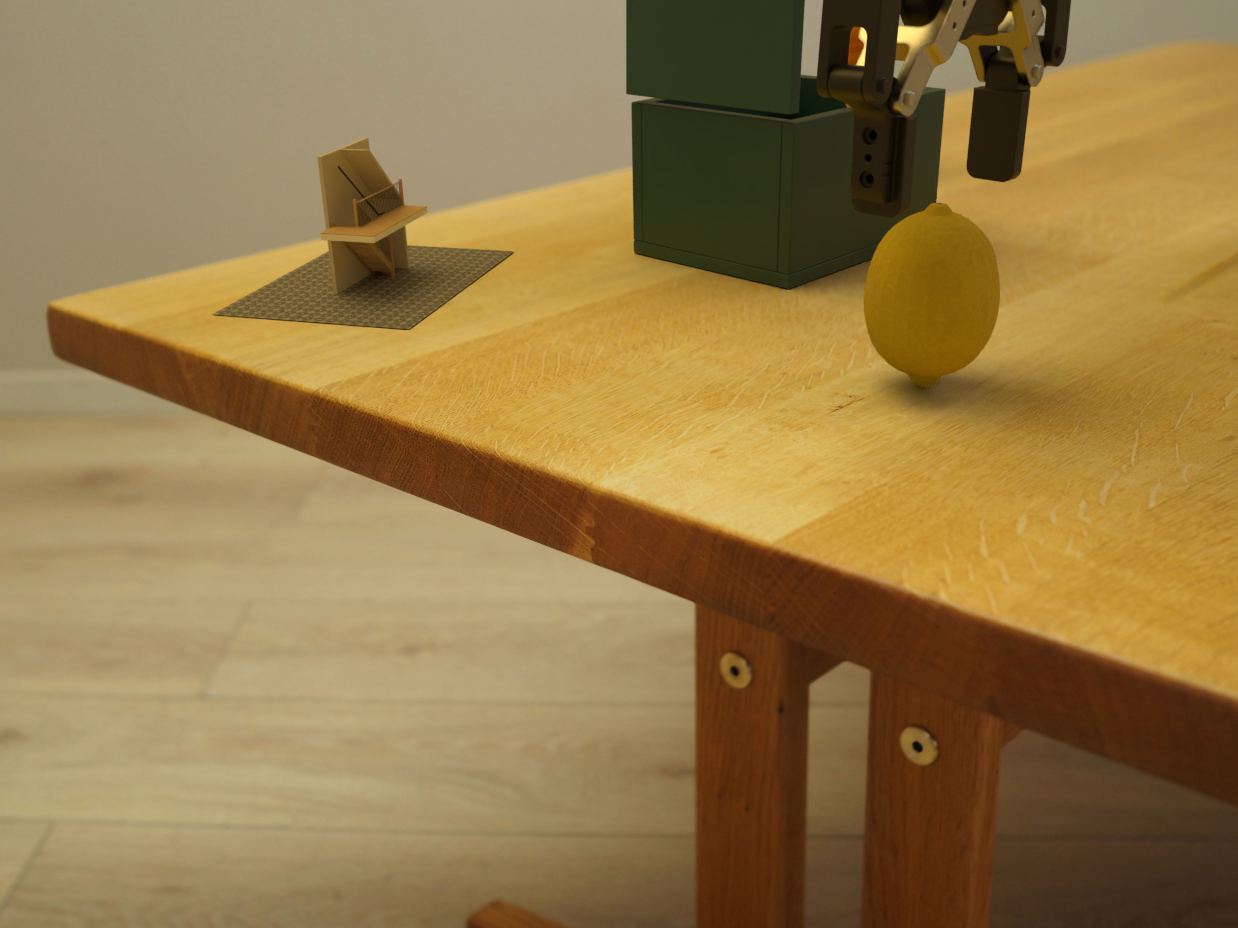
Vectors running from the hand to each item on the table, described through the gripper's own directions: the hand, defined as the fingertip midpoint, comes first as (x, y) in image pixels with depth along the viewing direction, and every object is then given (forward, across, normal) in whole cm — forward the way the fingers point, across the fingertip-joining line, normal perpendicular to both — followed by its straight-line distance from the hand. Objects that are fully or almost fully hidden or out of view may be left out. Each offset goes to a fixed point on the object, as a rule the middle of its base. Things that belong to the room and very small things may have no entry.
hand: (939, 195), depth 51 cm
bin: (+8, +15, +19) cm, 26 cm away
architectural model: (+9, -6, +32) cm, 34 cm away
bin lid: (-9, +8, +19) cm, 23 cm away
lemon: (+8, 0, 0) cm, 9 cm away
